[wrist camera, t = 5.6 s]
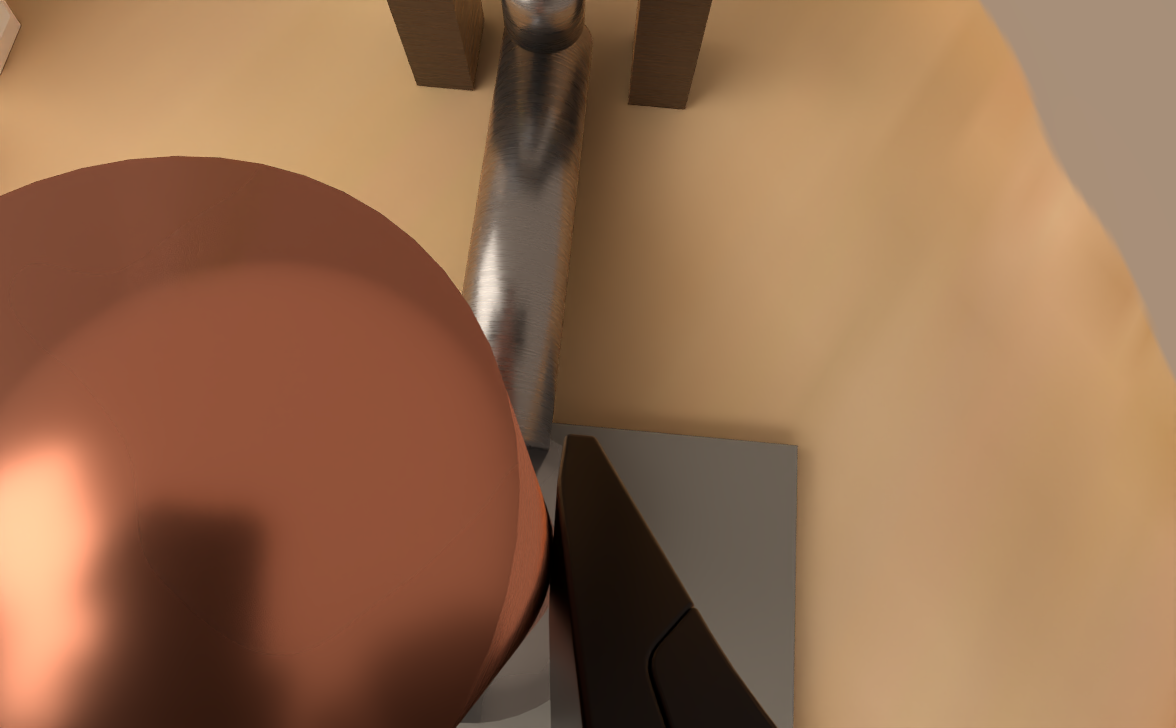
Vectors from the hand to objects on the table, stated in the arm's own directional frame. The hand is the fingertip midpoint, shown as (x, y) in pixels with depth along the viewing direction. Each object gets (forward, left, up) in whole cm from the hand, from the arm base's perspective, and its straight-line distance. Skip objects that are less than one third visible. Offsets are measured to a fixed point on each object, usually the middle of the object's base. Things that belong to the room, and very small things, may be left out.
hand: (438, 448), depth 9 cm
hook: (+4, 0, -7) cm, 8 cm away
